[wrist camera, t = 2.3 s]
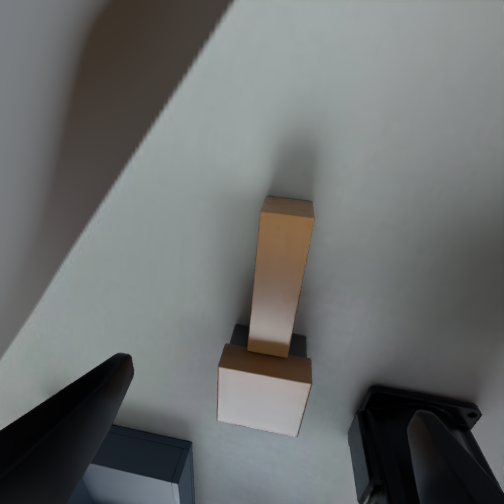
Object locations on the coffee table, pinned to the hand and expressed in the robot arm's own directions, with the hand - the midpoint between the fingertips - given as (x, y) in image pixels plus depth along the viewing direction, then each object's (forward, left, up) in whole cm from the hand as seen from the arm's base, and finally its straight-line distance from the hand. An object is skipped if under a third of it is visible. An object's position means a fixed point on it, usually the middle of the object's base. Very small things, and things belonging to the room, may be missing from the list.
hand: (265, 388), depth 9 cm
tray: (+12, +28, -7) cm, 32 cm away
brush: (0, +2, -7) cm, 7 cm away
